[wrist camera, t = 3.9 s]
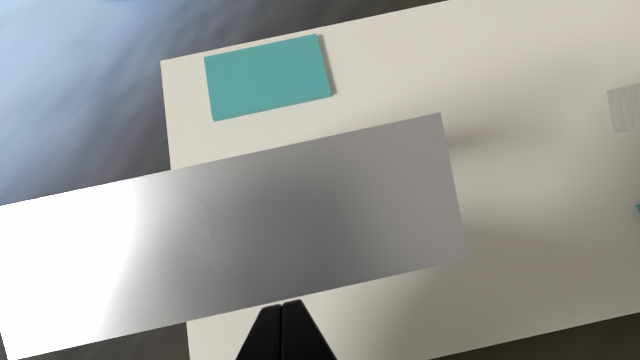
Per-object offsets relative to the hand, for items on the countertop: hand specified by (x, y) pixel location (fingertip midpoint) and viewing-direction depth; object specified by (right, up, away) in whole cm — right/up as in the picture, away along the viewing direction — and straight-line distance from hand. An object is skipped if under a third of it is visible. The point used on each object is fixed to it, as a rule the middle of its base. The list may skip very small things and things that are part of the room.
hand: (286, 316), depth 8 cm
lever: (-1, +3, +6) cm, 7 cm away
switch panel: (+7, +3, +9) cm, 12 cm away
